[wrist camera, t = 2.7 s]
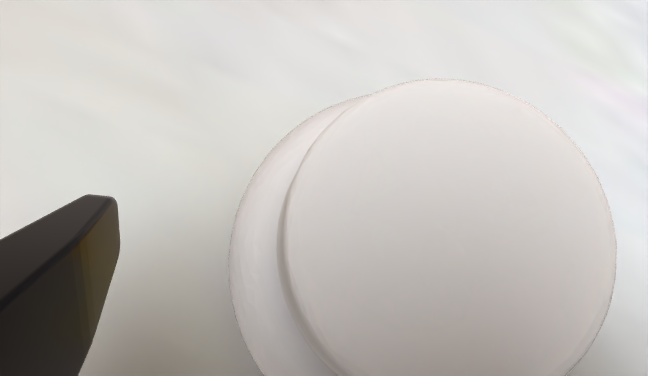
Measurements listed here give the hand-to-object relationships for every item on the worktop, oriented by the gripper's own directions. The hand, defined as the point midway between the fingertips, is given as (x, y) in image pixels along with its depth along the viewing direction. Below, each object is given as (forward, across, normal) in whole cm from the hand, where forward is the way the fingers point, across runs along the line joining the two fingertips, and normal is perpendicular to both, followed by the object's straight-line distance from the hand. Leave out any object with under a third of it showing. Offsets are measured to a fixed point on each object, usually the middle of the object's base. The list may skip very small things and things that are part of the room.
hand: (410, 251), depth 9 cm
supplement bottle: (+6, 0, +6) cm, 8 cm away
